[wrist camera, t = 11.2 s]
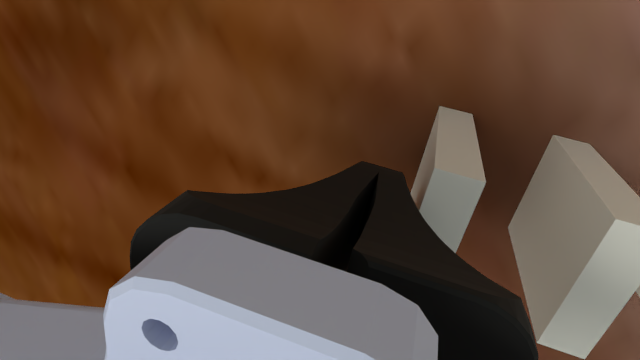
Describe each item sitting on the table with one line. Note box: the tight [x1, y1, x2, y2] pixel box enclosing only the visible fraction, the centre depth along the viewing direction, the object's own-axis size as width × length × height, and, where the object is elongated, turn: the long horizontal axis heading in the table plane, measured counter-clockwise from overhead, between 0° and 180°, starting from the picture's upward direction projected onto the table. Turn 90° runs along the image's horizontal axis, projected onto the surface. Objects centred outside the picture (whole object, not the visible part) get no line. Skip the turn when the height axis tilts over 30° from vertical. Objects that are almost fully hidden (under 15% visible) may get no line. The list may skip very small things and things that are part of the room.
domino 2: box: [508, 135, 640, 359], centre depth 12 cm, size 4×1×6 cm, turn 170°
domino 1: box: [410, 106, 486, 253], centre depth 13 cm, size 4×1×6 cm, turn 170°
